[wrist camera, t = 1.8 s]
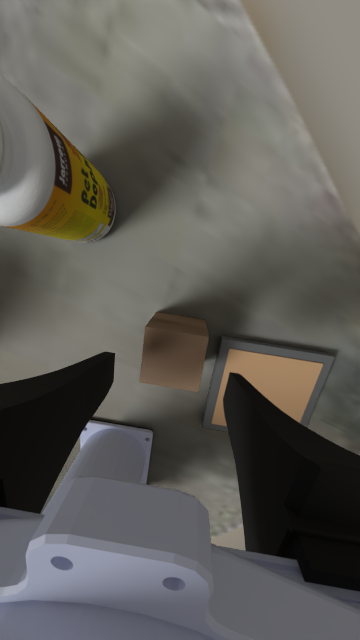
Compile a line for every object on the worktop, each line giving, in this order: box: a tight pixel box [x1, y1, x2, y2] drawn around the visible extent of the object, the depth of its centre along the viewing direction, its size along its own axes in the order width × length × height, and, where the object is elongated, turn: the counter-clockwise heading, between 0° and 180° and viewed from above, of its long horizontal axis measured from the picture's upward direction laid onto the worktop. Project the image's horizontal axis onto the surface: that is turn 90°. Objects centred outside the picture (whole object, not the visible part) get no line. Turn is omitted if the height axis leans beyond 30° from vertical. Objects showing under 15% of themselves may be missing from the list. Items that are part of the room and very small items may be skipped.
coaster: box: [202, 336, 335, 432], centre depth 19 cm, size 10×10×1 cm
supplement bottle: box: [0, 76, 116, 243], centre depth 11 cm, size 6×6×10 cm
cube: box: [140, 312, 209, 392], centre depth 16 cm, size 4×4×4 cm
